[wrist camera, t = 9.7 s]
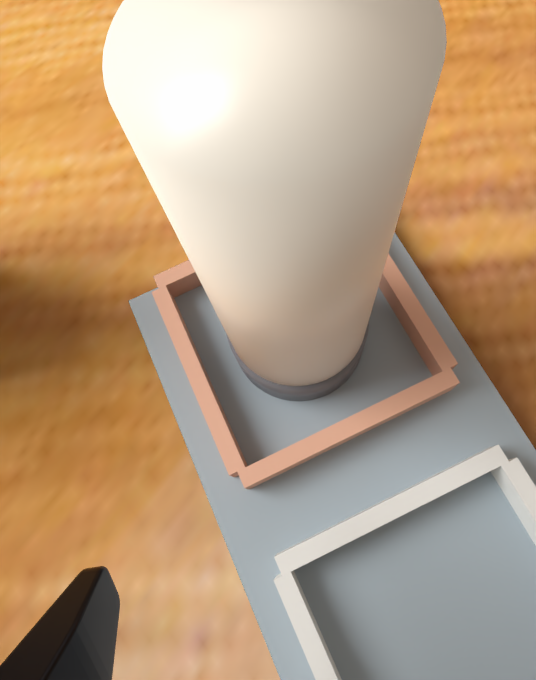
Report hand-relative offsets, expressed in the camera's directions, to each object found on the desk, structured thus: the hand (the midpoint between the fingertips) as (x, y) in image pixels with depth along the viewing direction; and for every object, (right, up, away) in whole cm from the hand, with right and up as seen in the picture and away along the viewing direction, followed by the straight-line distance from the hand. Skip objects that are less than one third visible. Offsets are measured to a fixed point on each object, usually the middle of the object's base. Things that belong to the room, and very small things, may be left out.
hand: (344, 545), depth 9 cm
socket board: (+2, -1, +9) cm, 10 cm away
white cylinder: (0, +4, +10) cm, 11 cm away
